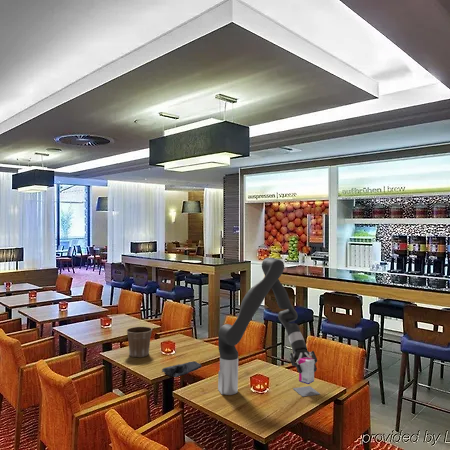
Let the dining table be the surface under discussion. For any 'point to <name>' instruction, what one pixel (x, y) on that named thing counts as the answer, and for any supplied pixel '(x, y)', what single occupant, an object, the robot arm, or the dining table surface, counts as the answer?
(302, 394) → the mat
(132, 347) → the plant pot
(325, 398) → the dining table surface
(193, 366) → the dark slate chunk
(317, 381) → the dining table surface
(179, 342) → the dining table surface
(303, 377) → the supplement box
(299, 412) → the dining table surface
